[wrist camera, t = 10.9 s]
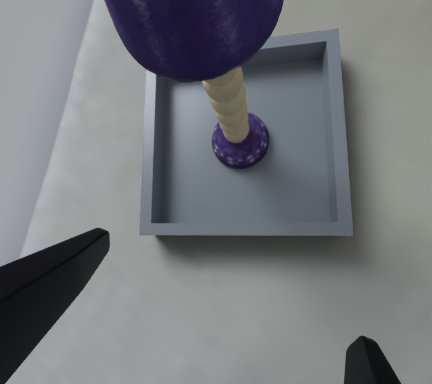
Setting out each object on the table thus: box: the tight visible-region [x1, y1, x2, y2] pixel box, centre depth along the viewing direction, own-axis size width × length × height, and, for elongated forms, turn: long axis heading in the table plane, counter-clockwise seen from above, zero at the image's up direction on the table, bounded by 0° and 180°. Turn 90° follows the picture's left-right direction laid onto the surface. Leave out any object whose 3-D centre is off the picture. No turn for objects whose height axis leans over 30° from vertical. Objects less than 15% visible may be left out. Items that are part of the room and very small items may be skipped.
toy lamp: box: [104, 0, 283, 169], centre depth 12 cm, size 5×5×17 cm
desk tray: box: [140, 29, 353, 236], centre depth 19 cm, size 14×14×2 cm
